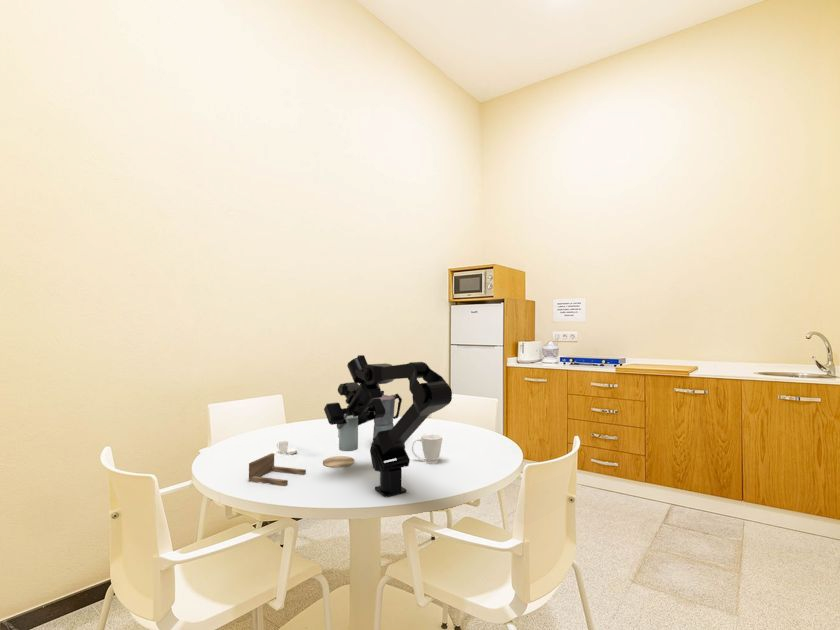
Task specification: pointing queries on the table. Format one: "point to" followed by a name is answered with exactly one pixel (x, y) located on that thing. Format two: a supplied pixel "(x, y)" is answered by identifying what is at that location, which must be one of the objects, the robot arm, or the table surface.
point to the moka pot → (387, 414)
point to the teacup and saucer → (284, 449)
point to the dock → (269, 470)
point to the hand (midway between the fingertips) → (346, 426)
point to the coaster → (338, 461)
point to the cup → (430, 447)
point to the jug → (349, 435)
